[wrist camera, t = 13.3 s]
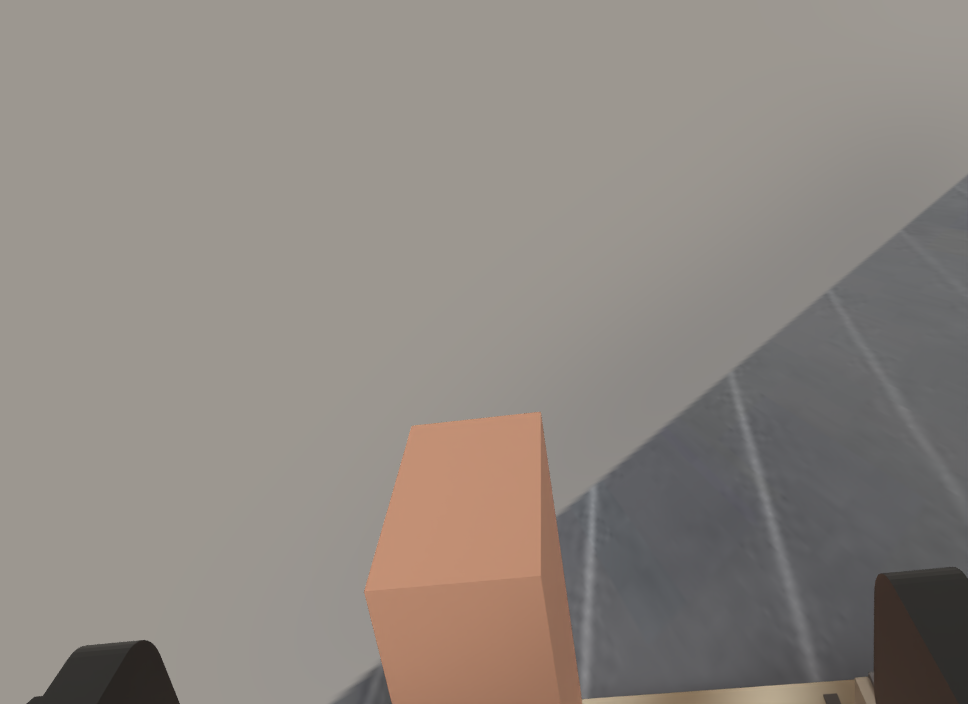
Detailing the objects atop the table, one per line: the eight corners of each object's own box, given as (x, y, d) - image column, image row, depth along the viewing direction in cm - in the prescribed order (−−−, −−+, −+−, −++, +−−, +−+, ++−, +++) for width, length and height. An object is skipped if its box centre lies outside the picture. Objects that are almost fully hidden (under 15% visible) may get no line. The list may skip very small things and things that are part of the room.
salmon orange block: (589, 754, 32) (540, 411, 27) (604, 985, 25) (540, 576, 19) (480, 761, 33) (411, 425, 27) (463, 991, 25) (364, 591, 20)
